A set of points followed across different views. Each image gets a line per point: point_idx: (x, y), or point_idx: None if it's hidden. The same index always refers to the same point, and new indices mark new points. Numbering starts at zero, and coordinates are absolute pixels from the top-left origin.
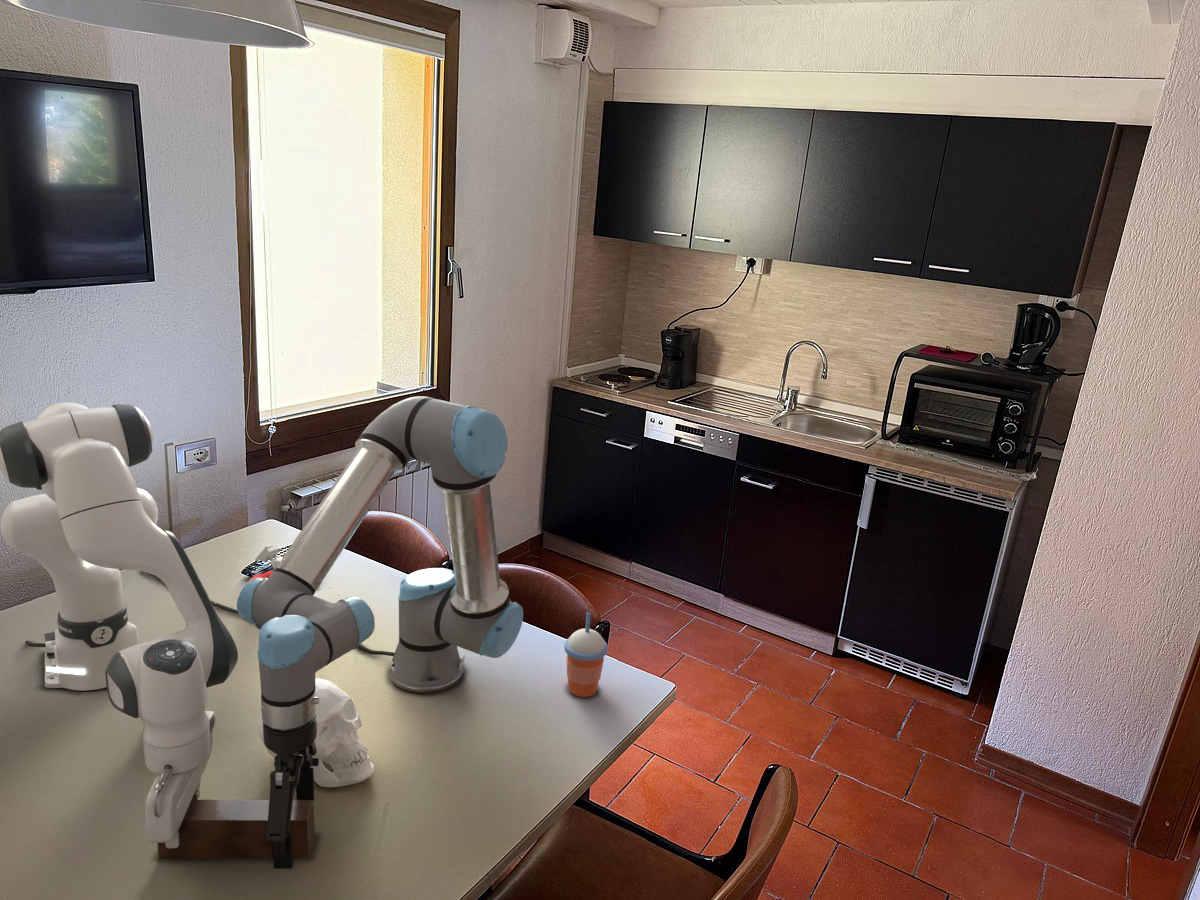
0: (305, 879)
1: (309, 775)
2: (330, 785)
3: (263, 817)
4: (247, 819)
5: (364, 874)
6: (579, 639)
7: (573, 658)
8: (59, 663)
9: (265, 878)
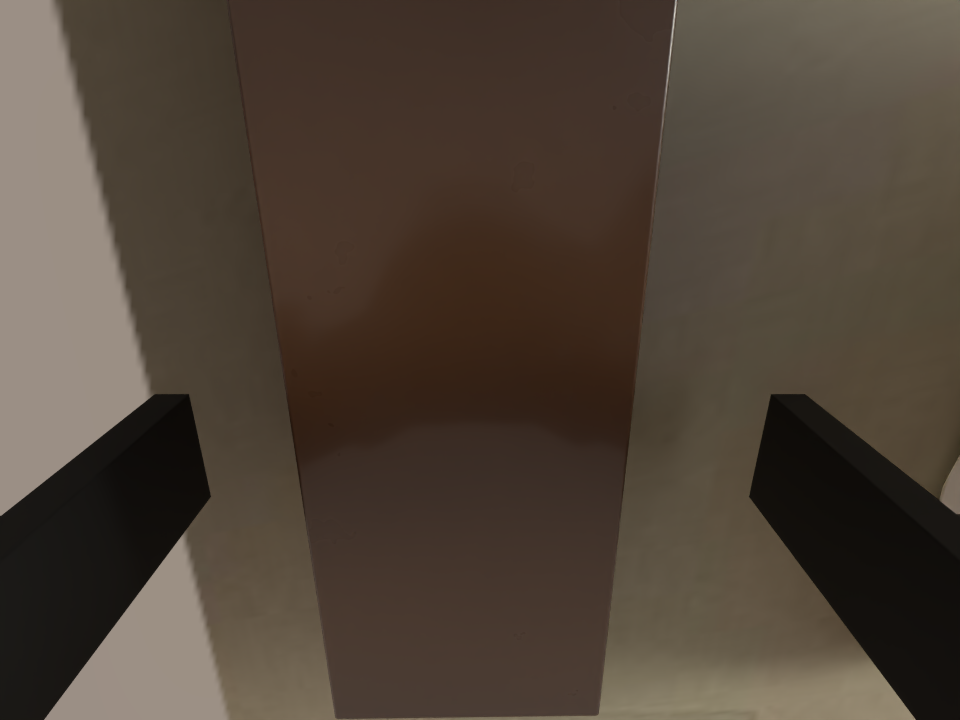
0: (246, 498)
1: (934, 709)
2: (951, 497)
3: (332, 360)
4: (267, 176)
5: (312, 700)
6: None
7: None
8: None
9: (218, 303)
